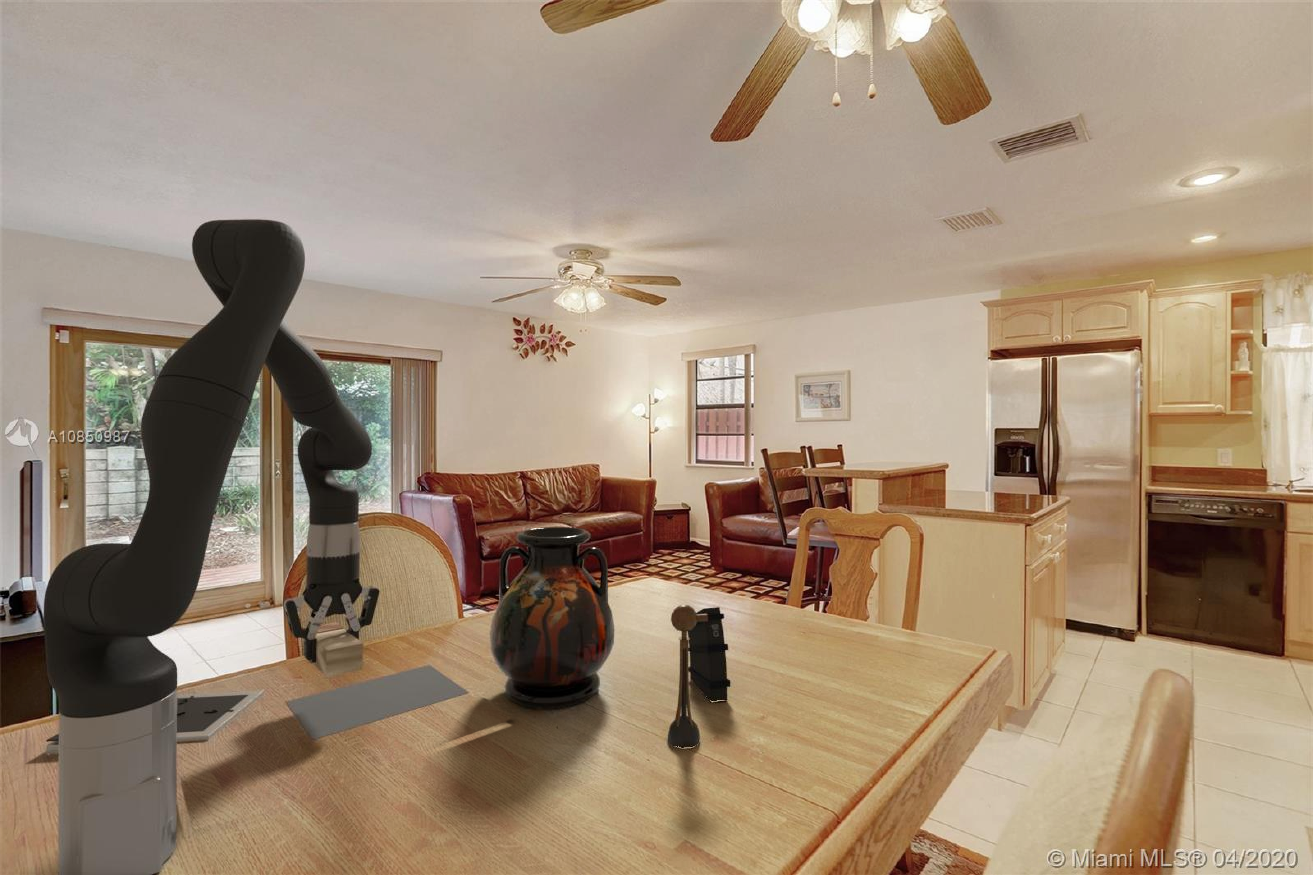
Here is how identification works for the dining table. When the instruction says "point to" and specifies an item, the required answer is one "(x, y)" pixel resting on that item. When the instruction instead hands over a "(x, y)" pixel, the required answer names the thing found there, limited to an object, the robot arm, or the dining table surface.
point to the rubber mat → (372, 700)
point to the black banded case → (709, 655)
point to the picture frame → (199, 714)
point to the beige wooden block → (337, 650)
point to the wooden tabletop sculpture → (684, 681)
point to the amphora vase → (552, 620)
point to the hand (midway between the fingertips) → (332, 657)
